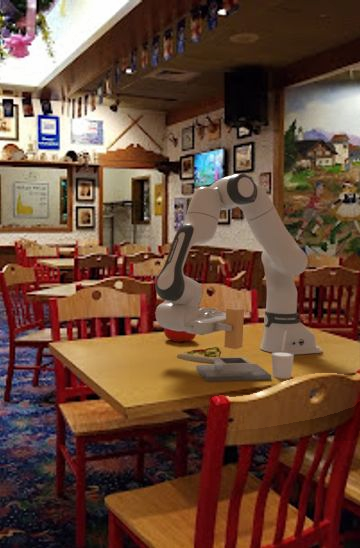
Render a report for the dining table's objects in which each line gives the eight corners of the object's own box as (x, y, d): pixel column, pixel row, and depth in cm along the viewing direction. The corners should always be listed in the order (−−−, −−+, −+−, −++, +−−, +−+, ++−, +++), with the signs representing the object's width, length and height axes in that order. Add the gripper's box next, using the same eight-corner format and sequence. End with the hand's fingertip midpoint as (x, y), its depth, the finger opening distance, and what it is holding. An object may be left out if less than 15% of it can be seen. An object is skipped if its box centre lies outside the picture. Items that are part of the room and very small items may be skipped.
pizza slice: (174, 360, 220) (174, 351, 219) (200, 349, 238) (201, 341, 238) (215, 366, 213) (215, 357, 212) (239, 354, 231) (239, 346, 230)
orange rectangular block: (231, 345, 202) (232, 307, 201) (242, 347, 199) (244, 309, 198) (224, 347, 199) (226, 308, 197) (235, 349, 196) (237, 310, 195)
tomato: (156, 341, 247) (157, 319, 246) (175, 336, 257) (175, 315, 256) (184, 346, 240) (185, 323, 239) (202, 340, 250) (202, 319, 249)
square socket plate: (256, 368, 209) (256, 354, 208) (271, 379, 195) (271, 365, 195) (196, 369, 205) (196, 355, 204) (207, 381, 191) (207, 366, 191)
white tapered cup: (268, 373, 203) (269, 351, 203) (289, 373, 204) (290, 351, 203) (273, 378, 197) (274, 356, 196) (295, 379, 197) (296, 356, 196)
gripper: (181, 314, 197) (219, 320, 189) (217, 307, 214) (253, 313, 206) (180, 335, 198) (218, 341, 190) (216, 326, 214) (252, 332, 206)
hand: (236, 326), depth 198 cm, fingers closed on orange rectangular block, 4 cm apart
